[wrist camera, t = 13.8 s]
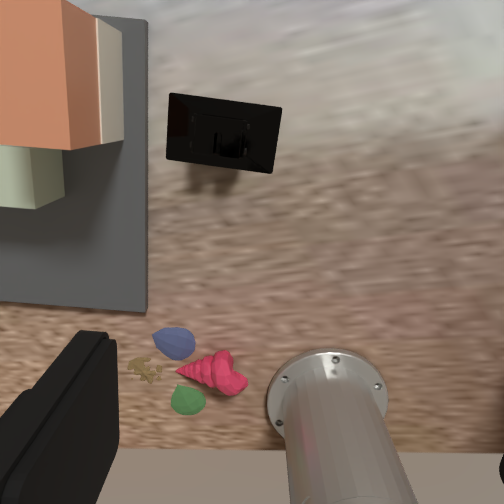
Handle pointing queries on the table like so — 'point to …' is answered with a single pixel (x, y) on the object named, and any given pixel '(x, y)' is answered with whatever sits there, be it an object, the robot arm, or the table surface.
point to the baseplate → (90, 212)
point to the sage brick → (30, 176)
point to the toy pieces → (191, 370)
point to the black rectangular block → (222, 133)
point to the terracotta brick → (48, 75)
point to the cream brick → (110, 82)
